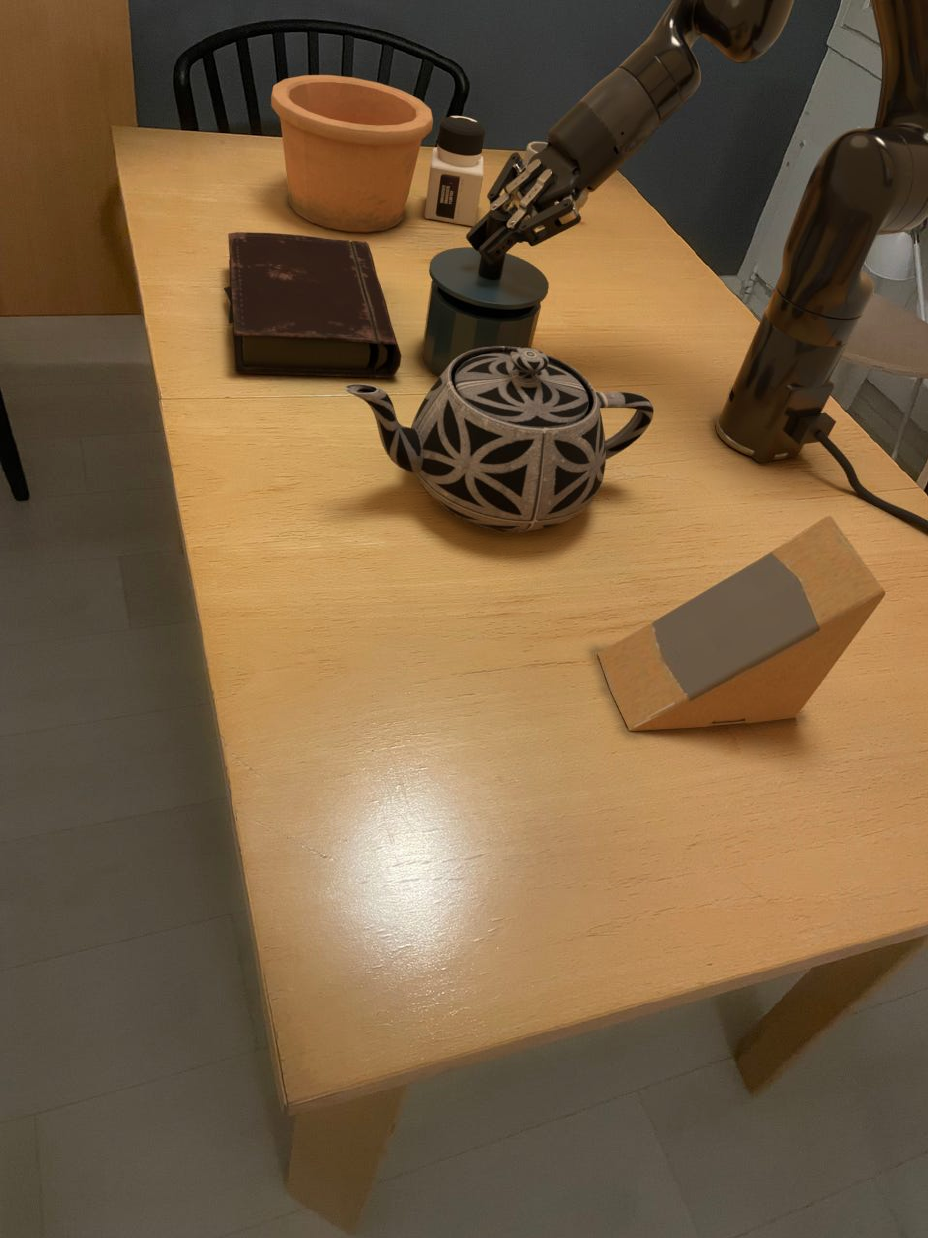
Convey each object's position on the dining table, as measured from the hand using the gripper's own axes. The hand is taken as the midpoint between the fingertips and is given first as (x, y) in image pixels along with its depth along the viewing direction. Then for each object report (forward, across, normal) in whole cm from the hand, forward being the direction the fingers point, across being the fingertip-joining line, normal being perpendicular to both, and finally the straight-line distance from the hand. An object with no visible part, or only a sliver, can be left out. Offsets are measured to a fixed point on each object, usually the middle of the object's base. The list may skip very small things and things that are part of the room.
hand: (477, 250), depth 94 cm
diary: (+20, -12, -1) cm, 23 cm away
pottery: (+9, -43, +10) cm, 45 cm away
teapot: (+14, +23, +4) cm, 28 cm away
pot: (+8, 0, +11) cm, 14 cm away
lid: (+1, 0, +4) cm, 4 cm away
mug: (-14, -39, +33) cm, 53 cm away
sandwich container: (+10, +51, +9) cm, 53 cm away
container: (-2, -41, +22) cm, 46 cm away
